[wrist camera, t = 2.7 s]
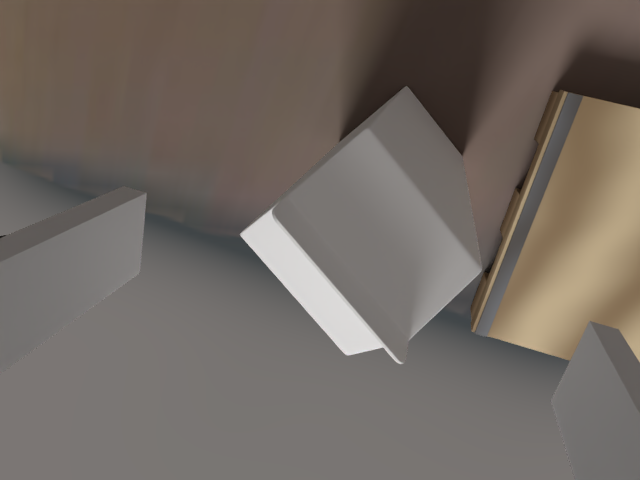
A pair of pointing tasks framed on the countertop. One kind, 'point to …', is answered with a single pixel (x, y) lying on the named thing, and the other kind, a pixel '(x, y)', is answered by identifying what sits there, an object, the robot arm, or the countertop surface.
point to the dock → (570, 233)
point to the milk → (375, 231)
